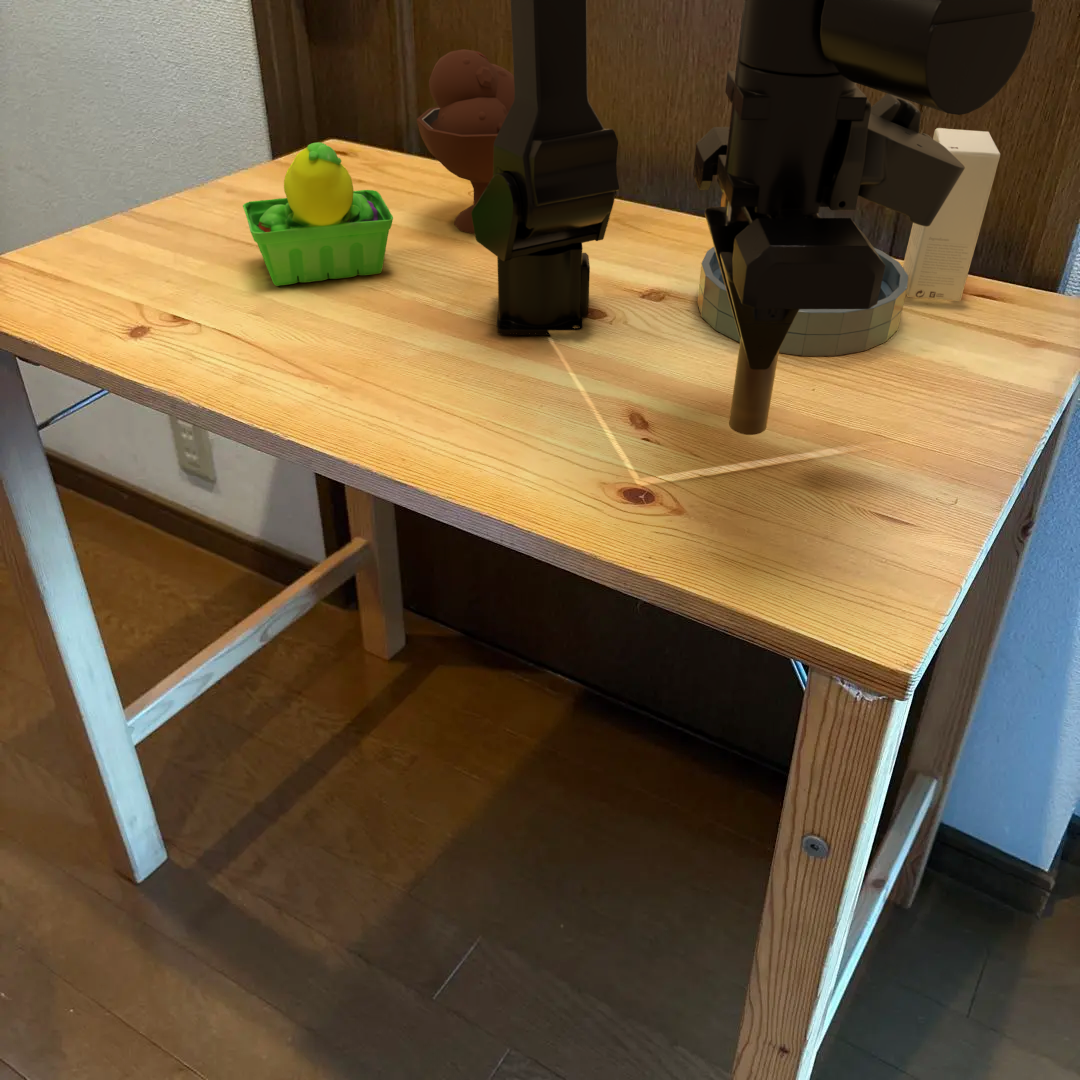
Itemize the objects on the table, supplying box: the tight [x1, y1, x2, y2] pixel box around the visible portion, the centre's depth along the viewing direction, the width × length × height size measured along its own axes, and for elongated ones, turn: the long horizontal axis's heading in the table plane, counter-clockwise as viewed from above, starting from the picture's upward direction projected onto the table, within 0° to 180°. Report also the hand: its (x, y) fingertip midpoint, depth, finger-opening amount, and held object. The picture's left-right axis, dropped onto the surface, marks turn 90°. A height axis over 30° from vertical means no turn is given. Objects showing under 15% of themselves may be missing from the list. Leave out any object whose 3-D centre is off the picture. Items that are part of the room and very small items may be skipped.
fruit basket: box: [242, 142, 394, 287], centre depth 84 cm, size 11×9×11 cm
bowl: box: [696, 246, 908, 357], centre depth 80 cm, size 15×15×4 cm
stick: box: [728, 338, 780, 436], centre depth 58 cm, size 2×2×11 cm
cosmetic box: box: [902, 127, 1001, 302], centre depth 81 cm, size 6×4×12 cm
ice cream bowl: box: [416, 48, 515, 235], centre depth 92 cm, size 11×11×15 cm
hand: (755, 357), depth 58 cm, fingers closed on stick, 2 cm apart
